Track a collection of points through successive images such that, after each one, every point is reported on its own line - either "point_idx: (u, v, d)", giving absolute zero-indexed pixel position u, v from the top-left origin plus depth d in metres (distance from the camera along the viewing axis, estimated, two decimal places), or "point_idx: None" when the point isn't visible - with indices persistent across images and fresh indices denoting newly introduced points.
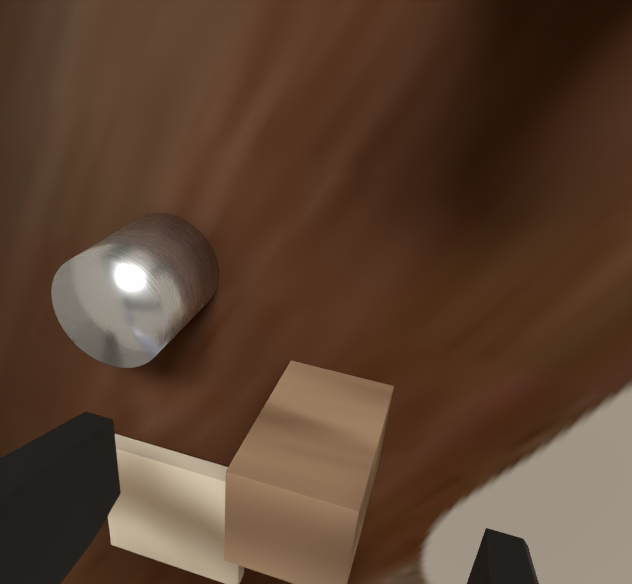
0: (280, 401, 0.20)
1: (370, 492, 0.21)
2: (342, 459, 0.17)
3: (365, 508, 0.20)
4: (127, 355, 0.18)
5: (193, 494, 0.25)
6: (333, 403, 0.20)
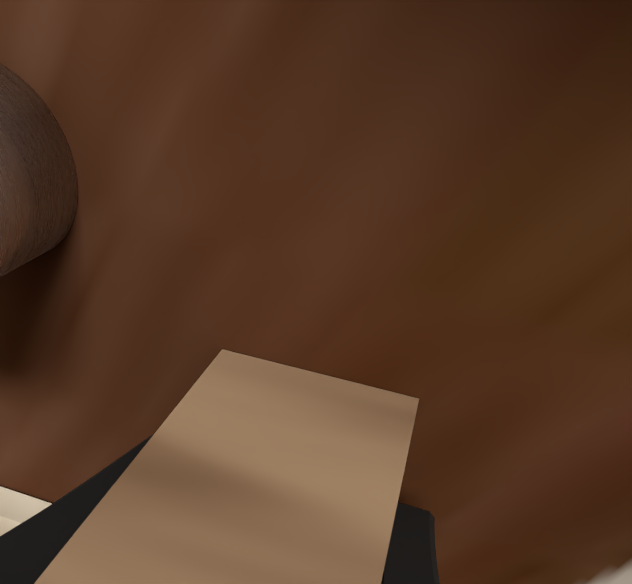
0: (184, 433, 0.09)
1: None
2: (306, 583, 0.07)
3: None
4: None
5: None
6: (296, 436, 0.09)
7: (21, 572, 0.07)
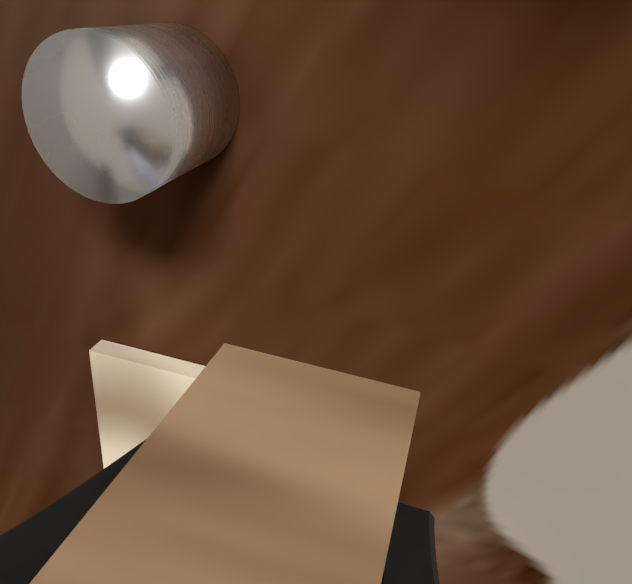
0: (187, 425, 0.09)
1: None
2: (308, 572, 0.07)
3: None
4: (122, 183, 0.14)
5: None
6: (298, 428, 0.10)
7: (21, 572, 0.07)
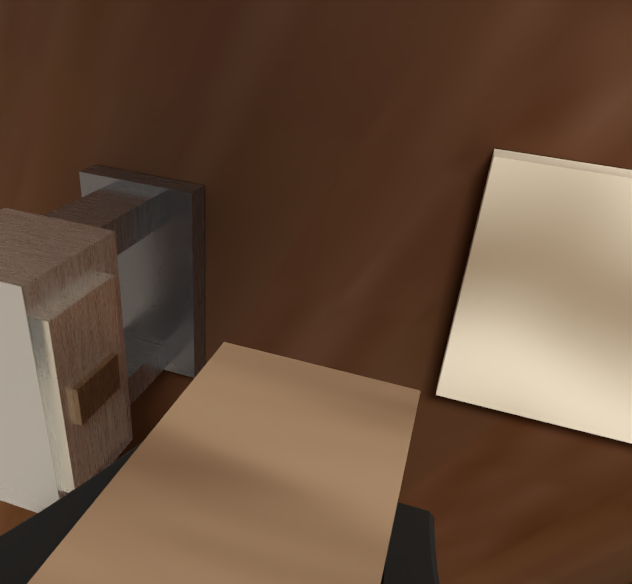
0: (186, 423, 0.09)
1: None
2: (308, 571, 0.07)
3: None
4: None
5: None
6: (298, 427, 0.09)
7: (21, 571, 0.07)
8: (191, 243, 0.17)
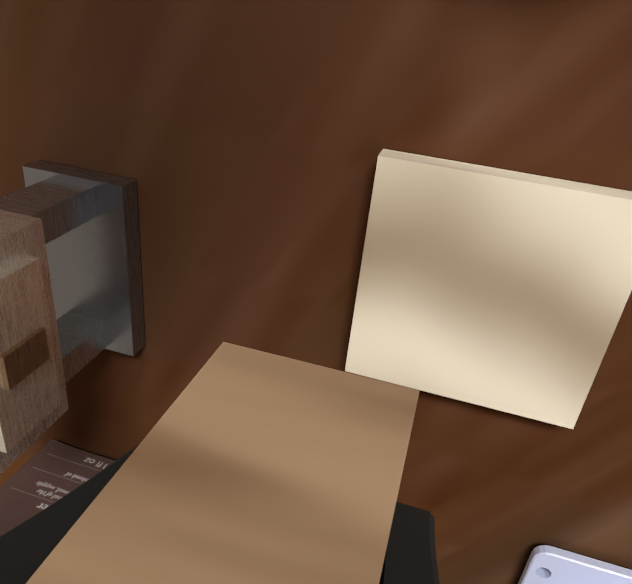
0: (185, 423, 0.09)
1: None
2: (307, 570, 0.07)
3: None
4: None
5: (549, 240, 0.15)
6: (296, 426, 0.09)
7: (21, 571, 0.07)
8: (124, 232, 0.18)
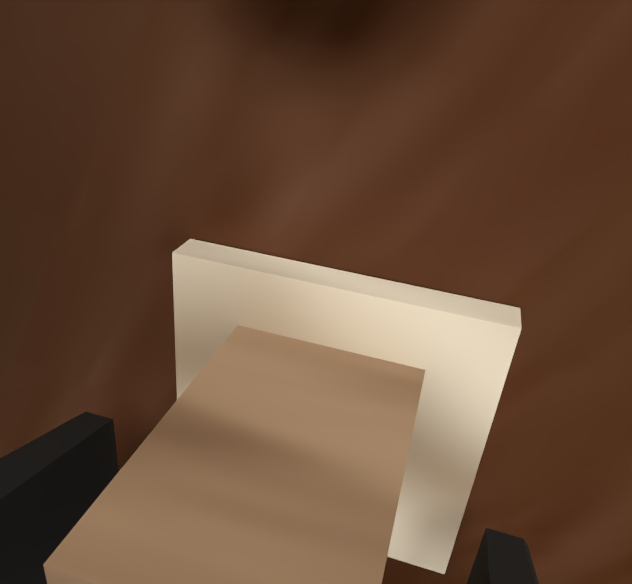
0: (205, 398, 0.10)
1: None
2: (324, 527, 0.08)
3: None
4: None
5: None
6: (310, 401, 0.10)
7: None
8: None
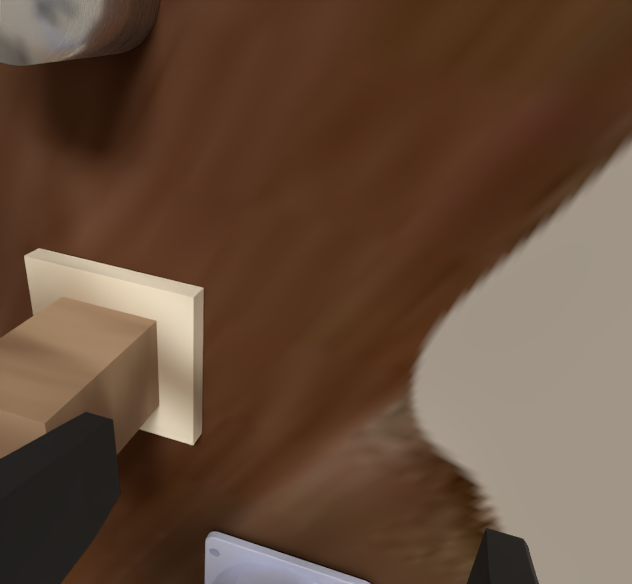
0: (27, 330, 0.20)
1: (130, 426, 0.21)
2: (58, 380, 0.17)
3: None
4: (29, 42, 0.14)
5: None
6: (81, 333, 0.20)
7: None
8: None
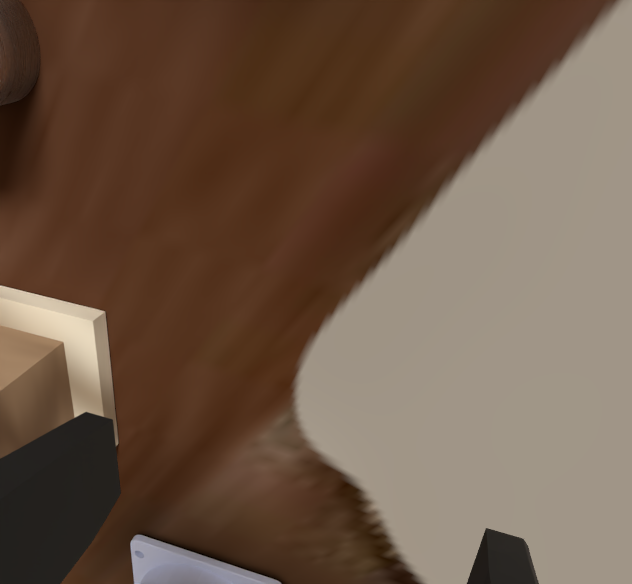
0: None
1: None
2: None
3: None
4: None
5: None
6: None
7: None
8: None
